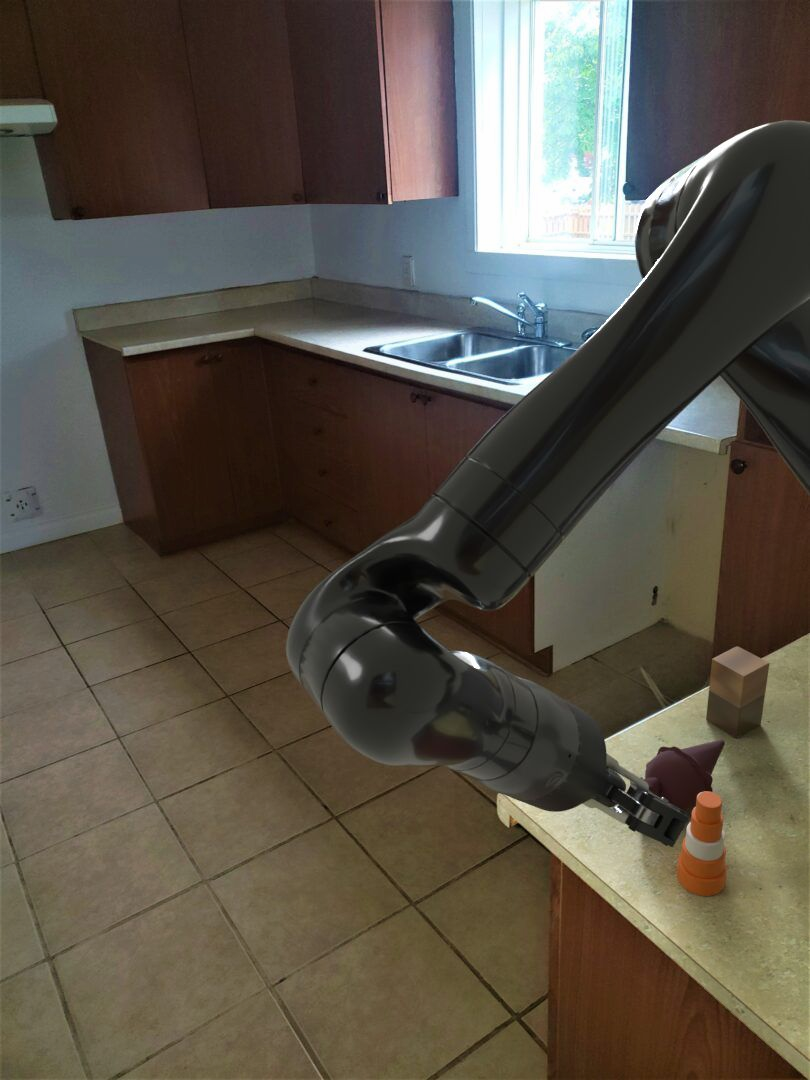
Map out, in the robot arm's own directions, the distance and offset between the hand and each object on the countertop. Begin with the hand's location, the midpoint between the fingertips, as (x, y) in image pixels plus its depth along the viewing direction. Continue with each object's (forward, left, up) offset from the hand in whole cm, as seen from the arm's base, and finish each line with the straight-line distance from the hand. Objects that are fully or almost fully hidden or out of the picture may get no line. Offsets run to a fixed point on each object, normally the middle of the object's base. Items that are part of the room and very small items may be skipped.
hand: (630, 792), depth 66 cm
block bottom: (+14, -33, -18) cm, 40 cm away
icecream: (+9, -18, -18) cm, 27 cm away
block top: (+14, -33, -13) cm, 38 cm away
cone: (+1, -11, -18) cm, 21 cm away
